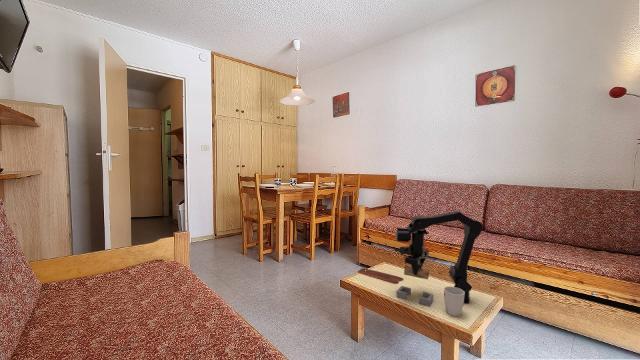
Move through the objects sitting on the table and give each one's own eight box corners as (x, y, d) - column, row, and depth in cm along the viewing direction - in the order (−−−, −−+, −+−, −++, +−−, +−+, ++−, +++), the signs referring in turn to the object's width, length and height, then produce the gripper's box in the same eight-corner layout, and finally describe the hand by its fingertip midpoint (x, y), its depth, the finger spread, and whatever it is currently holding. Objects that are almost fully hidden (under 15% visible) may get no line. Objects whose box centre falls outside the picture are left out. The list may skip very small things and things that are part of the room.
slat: (428, 276, 130) (428, 269, 130) (427, 279, 127) (428, 272, 127) (405, 272, 136) (405, 265, 135) (404, 274, 133) (404, 267, 132)
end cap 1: (396, 296, 130) (396, 290, 130) (401, 291, 136) (401, 285, 136) (406, 299, 128) (406, 293, 128) (410, 294, 134) (410, 288, 134)
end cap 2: (433, 300, 127) (433, 294, 127) (429, 306, 121) (429, 300, 121) (423, 297, 130) (423, 291, 130) (418, 303, 124) (419, 297, 124)
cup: (448, 306, 122) (449, 284, 122) (467, 314, 116) (468, 291, 115) (439, 311, 117) (440, 289, 117) (458, 320, 111) (459, 296, 110)
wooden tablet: (404, 280, 152) (404, 277, 152) (397, 285, 145) (397, 282, 145) (363, 268, 169) (363, 265, 169) (355, 273, 162) (355, 270, 161)
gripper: (407, 236, 143) (406, 264, 144) (394, 243, 128) (393, 275, 129) (429, 239, 136) (428, 269, 137) (417, 247, 121) (416, 281, 122)
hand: (416, 273), depth 131 cm, fingers closed on slat, 4 cm apart
